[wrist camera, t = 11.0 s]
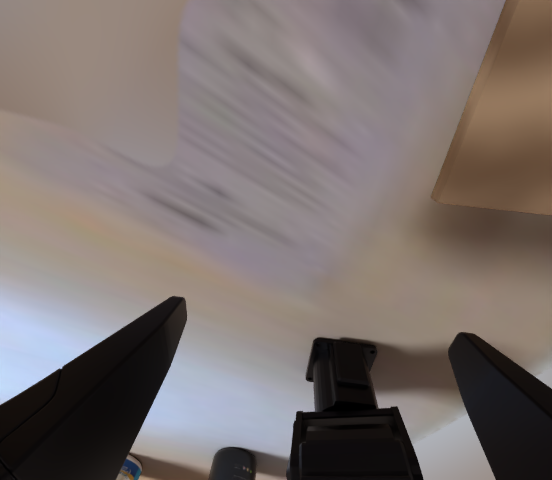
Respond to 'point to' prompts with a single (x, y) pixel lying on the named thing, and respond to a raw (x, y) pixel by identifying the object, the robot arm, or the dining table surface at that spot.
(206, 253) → the dining table surface
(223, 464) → the supplement bottle
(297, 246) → the dining table surface
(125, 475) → the beverage bottle
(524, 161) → the tan square board
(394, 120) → the dining table surface
